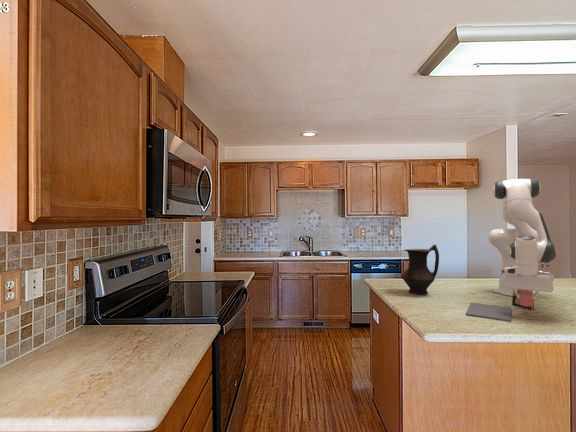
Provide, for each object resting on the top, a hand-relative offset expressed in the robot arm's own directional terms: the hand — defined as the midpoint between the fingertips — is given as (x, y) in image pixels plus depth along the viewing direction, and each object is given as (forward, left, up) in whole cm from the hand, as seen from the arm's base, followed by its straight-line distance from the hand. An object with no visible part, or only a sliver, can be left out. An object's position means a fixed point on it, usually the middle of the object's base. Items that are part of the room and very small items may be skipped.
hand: (526, 299), depth 161 cm
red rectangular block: (0, 0, -2) cm, 2 cm away
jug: (-19, -52, -8) cm, 56 cm away
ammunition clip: (-17, -1, -8) cm, 19 cm away
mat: (+2, -15, -8) cm, 17 cm away
